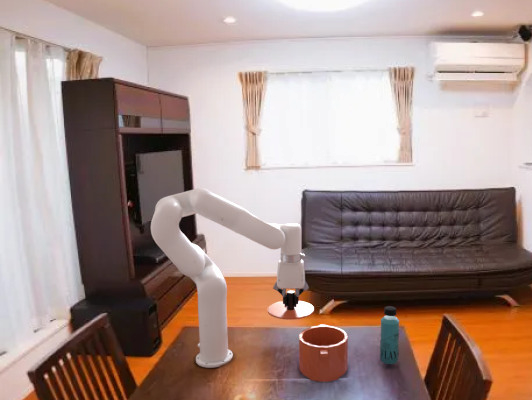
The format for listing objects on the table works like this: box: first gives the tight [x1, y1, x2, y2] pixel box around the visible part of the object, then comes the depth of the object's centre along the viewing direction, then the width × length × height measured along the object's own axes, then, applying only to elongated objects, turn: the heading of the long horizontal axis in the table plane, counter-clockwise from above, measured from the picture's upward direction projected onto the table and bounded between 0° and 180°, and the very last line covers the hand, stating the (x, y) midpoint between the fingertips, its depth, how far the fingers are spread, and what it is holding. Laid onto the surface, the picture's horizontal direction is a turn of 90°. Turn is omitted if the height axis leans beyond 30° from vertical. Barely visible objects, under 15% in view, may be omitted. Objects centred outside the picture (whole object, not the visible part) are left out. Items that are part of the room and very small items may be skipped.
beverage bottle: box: [379, 305, 400, 365], centre depth 145 cm, size 6×7×20 cm
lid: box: [266, 289, 315, 321], centre depth 158 cm, size 17×17×8 cm
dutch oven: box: [298, 323, 349, 383], centre depth 143 cm, size 16×21×12 cm
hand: (290, 305), depth 158 cm, fingers closed on lid, 3 cm apart
